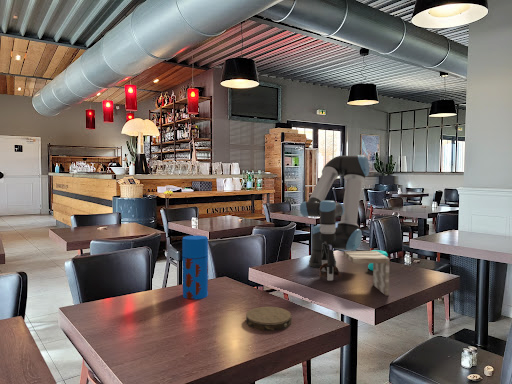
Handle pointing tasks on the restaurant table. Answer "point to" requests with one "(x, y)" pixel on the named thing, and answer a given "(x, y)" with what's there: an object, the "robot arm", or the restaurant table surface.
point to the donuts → (379, 252)
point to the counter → (379, 267)
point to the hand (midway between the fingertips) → (327, 276)
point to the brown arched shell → (324, 273)
